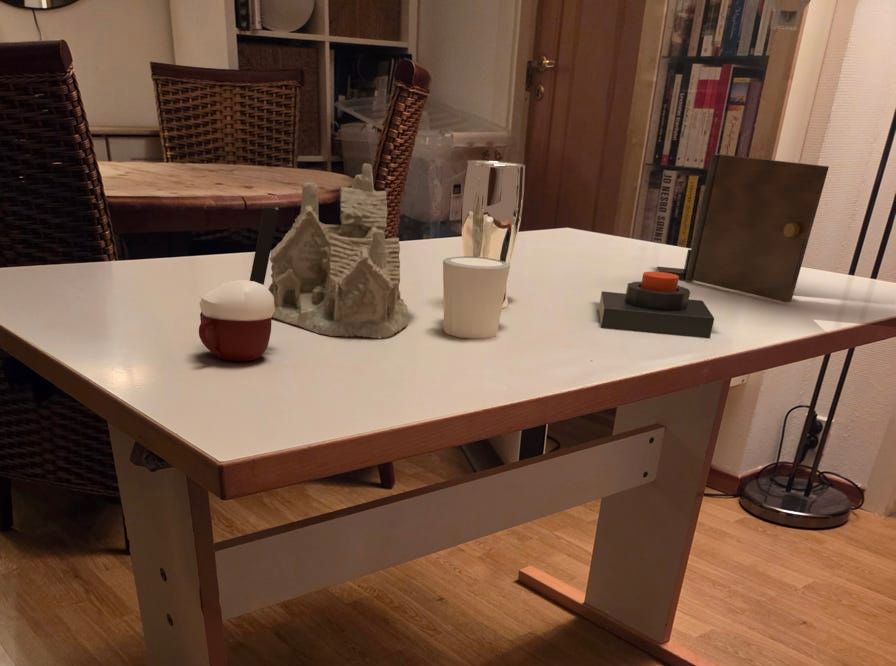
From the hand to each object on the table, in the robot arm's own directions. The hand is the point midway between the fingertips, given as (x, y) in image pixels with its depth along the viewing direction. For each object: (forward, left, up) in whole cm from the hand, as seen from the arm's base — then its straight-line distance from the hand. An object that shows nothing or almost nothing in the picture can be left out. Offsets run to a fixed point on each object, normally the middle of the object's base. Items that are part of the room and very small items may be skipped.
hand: (783, 29), depth 104 cm
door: (-2, -1, -30) cm, 30 cm away
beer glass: (+32, +23, -30) cm, 49 cm away
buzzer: (+12, +25, -30) cm, 40 cm away
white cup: (+32, +38, -30) cm, 58 cm away
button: (+12, +25, -27) cm, 38 cm away
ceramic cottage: (+47, +38, -30) cm, 67 cm away
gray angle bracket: (+5, -10, -30) cm, 32 cm away
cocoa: (+51, +56, -30) cm, 81 cm away
